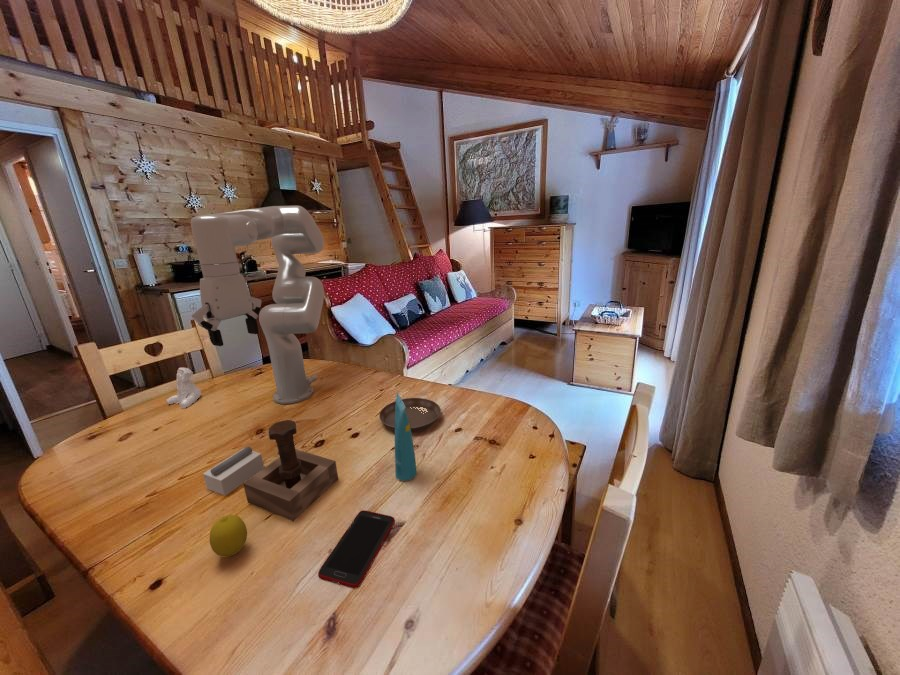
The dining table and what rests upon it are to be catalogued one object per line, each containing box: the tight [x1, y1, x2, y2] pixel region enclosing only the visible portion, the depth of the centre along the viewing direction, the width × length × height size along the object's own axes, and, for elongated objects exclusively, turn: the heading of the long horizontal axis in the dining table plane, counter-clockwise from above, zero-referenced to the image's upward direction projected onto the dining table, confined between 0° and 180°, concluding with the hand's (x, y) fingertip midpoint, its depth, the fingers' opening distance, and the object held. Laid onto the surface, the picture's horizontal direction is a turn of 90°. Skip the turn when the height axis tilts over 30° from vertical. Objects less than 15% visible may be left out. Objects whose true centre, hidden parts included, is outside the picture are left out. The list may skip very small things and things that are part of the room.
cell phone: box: [317, 509, 395, 589], centre depth 66 cm, size 8×15×1 cm, turn 163°
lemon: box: [209, 514, 248, 558], centre depth 64 cm, size 6×6×8 cm
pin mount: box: [202, 445, 265, 497], centre depth 83 cm, size 10×6×6 cm, turn 156°
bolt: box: [268, 419, 302, 489], centre depth 77 cm, size 6×5×15 cm
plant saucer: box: [378, 397, 442, 434], centre depth 106 cm, size 18×18×3 cm
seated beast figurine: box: [166, 366, 202, 409], centre depth 120 cm, size 10×9×12 cm
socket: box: [242, 448, 339, 522], centre depth 79 cm, size 13×13×5 cm
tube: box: [394, 392, 418, 482], centre depth 81 cm, size 7×5×19 cm, turn 26°
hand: (236, 339), depth 91 cm, fingers open, 9 cm apart
